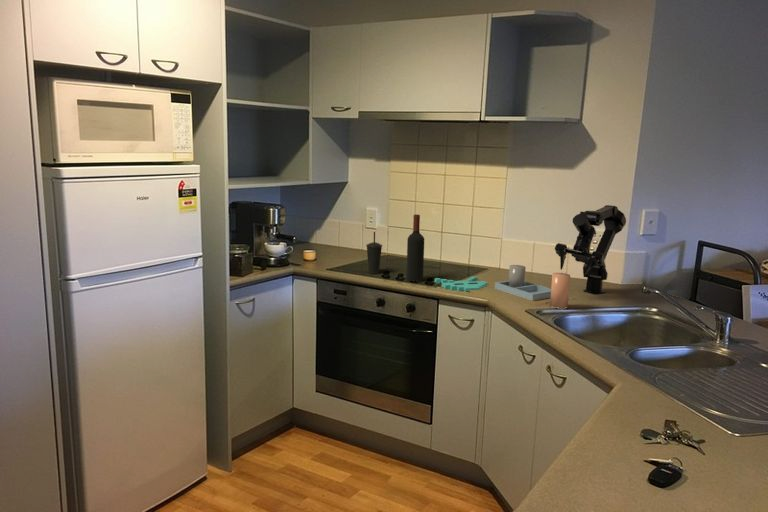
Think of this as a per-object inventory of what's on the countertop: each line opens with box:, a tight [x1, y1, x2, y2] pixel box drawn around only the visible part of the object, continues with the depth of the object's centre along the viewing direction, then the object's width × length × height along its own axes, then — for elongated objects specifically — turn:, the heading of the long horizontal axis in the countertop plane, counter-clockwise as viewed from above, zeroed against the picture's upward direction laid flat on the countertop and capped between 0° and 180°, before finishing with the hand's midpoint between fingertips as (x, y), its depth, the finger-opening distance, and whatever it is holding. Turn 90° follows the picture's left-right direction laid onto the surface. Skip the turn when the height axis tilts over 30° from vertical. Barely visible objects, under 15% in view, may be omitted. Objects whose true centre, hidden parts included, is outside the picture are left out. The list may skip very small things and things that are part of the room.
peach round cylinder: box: [549, 272, 571, 308], centre depth 230 cm, size 7×7×13 cm
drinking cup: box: [366, 231, 383, 275], centre depth 280 cm, size 8×8×20 cm
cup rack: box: [494, 280, 551, 301], centre depth 249 cm, size 14×22×4 cm, turn 32°
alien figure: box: [434, 276, 489, 293], centre depth 261 cm, size 20×2×20 cm
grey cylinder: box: [508, 264, 526, 288], centre depth 252 cm, size 7×7×10 cm
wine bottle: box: [405, 214, 425, 283], centre depth 267 cm, size 8×8×30 cm
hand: (572, 272), depth 236 cm, fingers open, 9 cm apart
